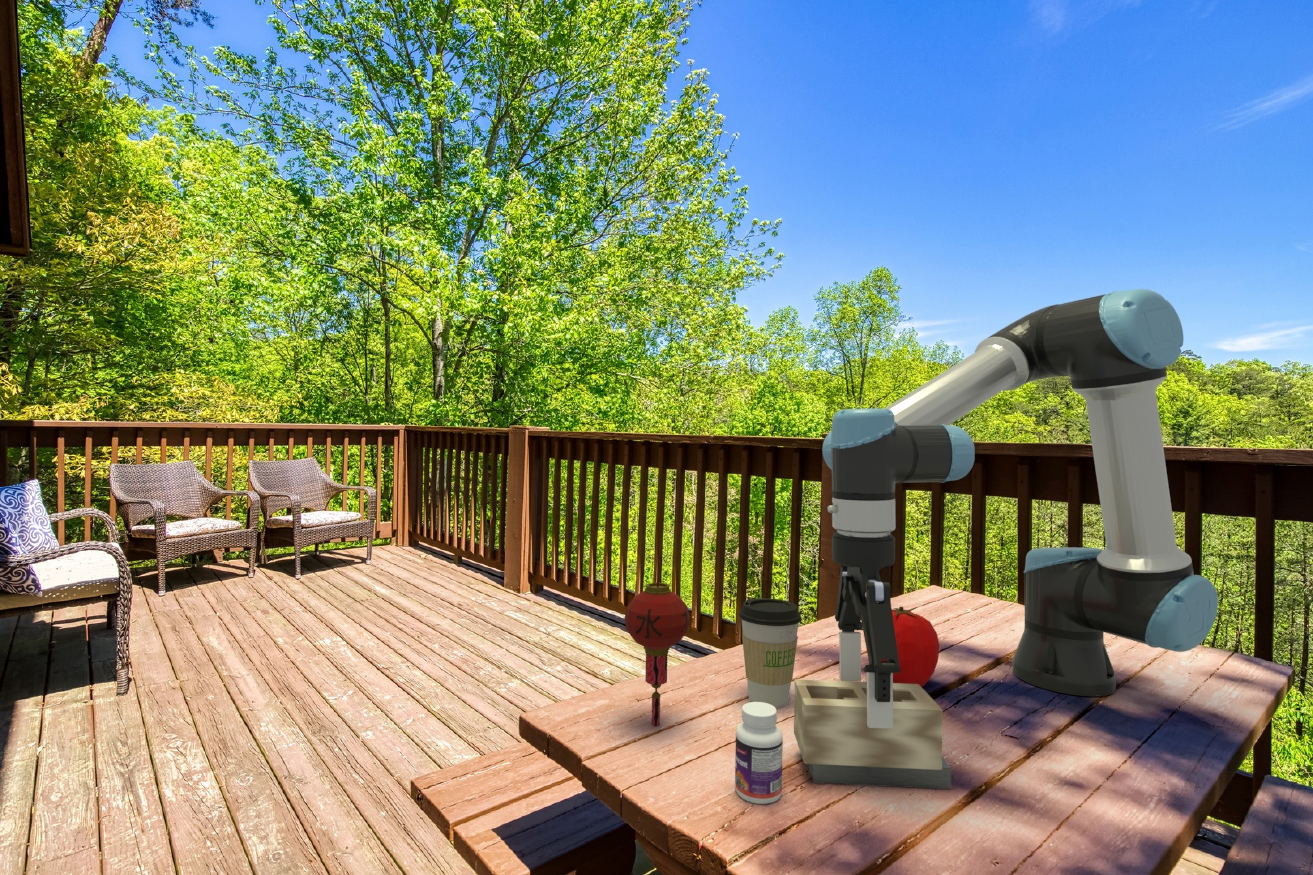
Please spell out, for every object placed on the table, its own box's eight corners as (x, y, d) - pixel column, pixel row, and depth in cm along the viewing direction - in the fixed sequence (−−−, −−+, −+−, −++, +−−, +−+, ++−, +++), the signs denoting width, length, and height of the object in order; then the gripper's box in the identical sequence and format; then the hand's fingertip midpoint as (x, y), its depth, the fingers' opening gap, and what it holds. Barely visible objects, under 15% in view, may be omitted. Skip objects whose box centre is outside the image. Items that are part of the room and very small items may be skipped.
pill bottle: (730, 780, 76) (731, 699, 76) (774, 778, 76) (775, 698, 76) (740, 806, 70) (741, 719, 70) (787, 804, 71) (788, 718, 71)
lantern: (696, 715, 93) (699, 513, 93) (677, 744, 84) (680, 520, 84) (636, 706, 96) (639, 510, 96) (612, 732, 87) (615, 517, 87)
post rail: (928, 759, 81) (929, 708, 81) (950, 788, 74) (951, 733, 74) (803, 753, 82) (804, 703, 82) (814, 782, 75) (814, 728, 75)
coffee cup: (801, 716, 94) (802, 615, 94) (734, 709, 96) (736, 610, 96) (799, 690, 103) (801, 599, 103) (739, 685, 105) (740, 595, 105)
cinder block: (917, 737, 82) (918, 684, 82) (941, 769, 74) (942, 710, 74) (793, 732, 83) (794, 679, 83) (804, 763, 75) (805, 704, 75)
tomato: (868, 695, 102) (869, 613, 102) (864, 669, 114) (865, 596, 114) (946, 704, 99) (947, 620, 99) (933, 676, 110) (934, 601, 110)
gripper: (813, 518, 91) (814, 664, 91) (858, 549, 66) (859, 750, 66) (866, 518, 91) (866, 665, 91) (931, 550, 66) (932, 752, 66)
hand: (863, 701), depth 79 cm, fingers open, 13 cm apart
